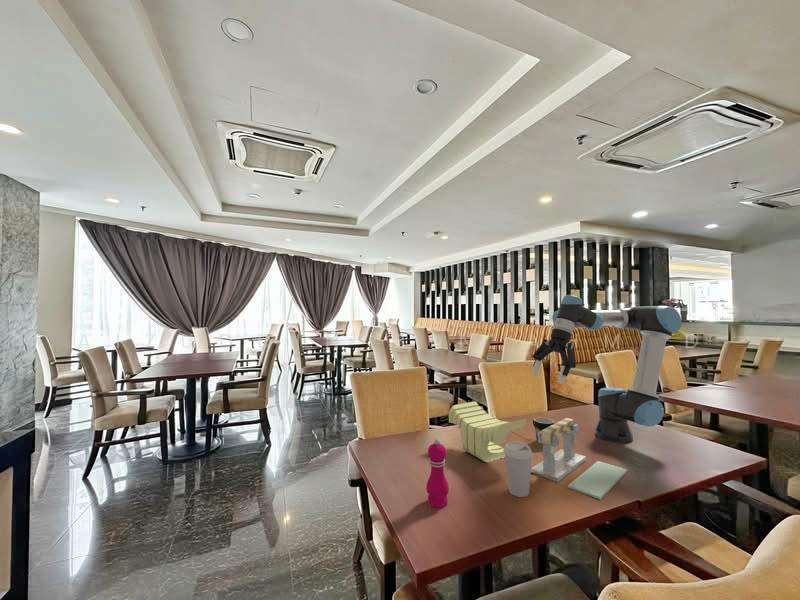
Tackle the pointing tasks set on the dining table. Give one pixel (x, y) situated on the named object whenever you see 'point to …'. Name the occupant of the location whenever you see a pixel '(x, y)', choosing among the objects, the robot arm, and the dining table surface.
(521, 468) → the coffee cup
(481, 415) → the slatted curved stool
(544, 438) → the wooden rail
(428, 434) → the dining table surface
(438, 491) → the pepper mill
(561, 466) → the rail stand
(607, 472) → the green mat
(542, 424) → the coffee mug
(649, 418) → the robot arm
